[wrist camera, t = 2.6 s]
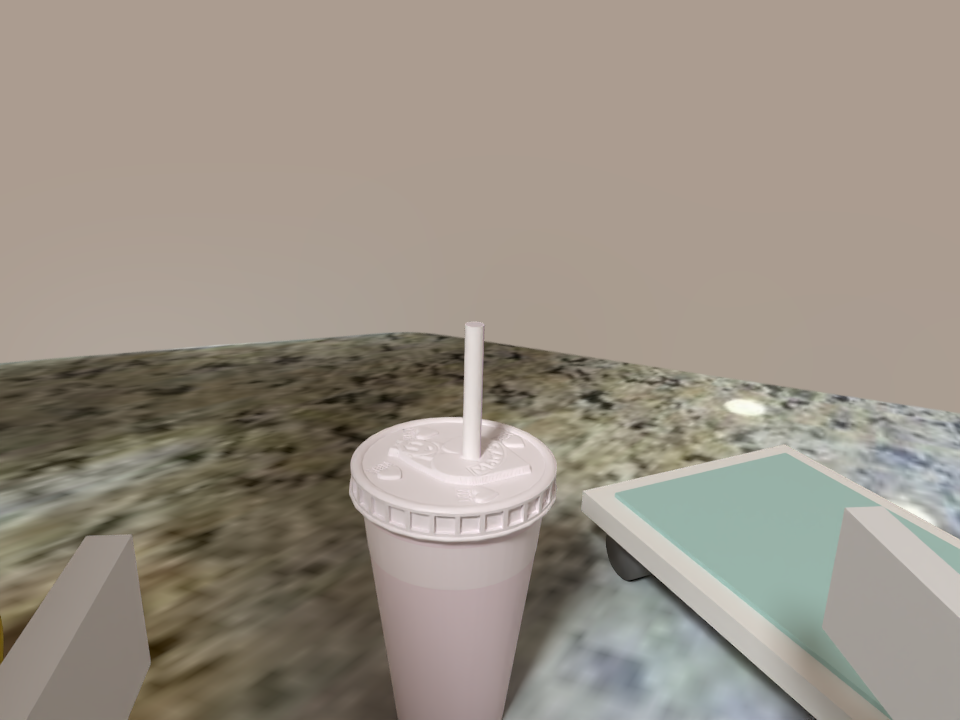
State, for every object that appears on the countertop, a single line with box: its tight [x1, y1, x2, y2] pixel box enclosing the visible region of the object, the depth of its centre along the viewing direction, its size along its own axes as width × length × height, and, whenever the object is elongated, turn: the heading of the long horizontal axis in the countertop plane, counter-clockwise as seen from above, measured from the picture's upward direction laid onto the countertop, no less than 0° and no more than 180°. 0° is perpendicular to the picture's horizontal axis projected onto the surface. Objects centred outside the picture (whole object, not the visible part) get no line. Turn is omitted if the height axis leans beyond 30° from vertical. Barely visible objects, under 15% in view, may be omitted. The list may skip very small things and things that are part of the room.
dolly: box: [581, 445, 960, 720], centre depth 32 cm, size 16×12×4 cm
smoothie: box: [349, 321, 557, 720], centre depth 25 cm, size 6×6×14 cm
